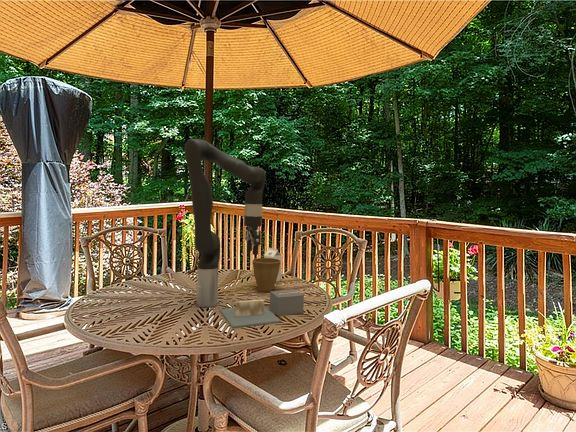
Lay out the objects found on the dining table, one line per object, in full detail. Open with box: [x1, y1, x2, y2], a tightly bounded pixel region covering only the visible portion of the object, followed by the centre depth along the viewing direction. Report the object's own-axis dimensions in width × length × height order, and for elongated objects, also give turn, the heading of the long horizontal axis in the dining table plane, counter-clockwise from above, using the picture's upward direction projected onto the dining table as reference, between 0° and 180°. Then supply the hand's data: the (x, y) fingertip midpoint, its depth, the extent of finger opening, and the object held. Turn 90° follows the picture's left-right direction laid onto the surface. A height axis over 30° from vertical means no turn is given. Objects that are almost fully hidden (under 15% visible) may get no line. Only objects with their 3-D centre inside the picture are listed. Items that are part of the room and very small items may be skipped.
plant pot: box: [251, 257, 282, 293], centre depth 213 cm, size 15×15×16 cm
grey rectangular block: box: [269, 288, 305, 317], centre depth 180 cm, size 12×10×9 cm
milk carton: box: [263, 247, 282, 283], centre depth 233 cm, size 7×7×19 cm
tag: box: [234, 299, 265, 317], centre depth 172 cm, size 6×2×12 cm
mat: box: [219, 306, 282, 329], centre depth 172 cm, size 20×22×1 cm
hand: (252, 252), depth 172 cm, fingers open, 8 cm apart
